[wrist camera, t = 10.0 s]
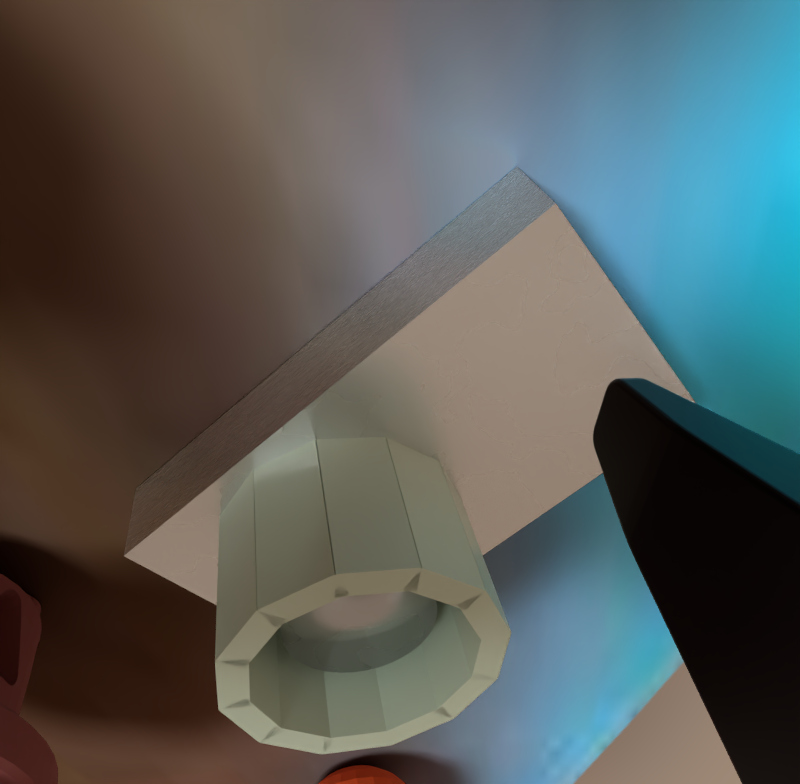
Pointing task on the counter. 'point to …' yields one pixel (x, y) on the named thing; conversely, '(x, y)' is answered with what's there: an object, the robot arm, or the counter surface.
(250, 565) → the collar
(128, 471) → the counter surface
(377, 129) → the counter surface
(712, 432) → the robot arm
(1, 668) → the mechanical component
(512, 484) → the beige rectangular block
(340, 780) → the clementine
